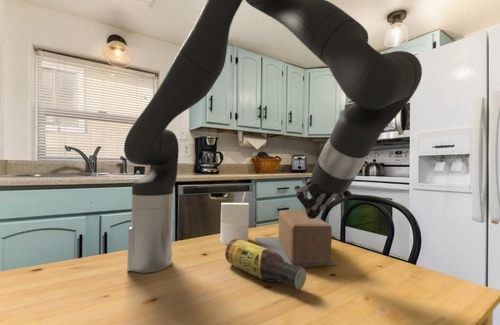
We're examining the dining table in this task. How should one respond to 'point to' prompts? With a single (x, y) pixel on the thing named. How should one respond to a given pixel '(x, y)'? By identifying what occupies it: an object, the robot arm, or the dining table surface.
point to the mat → (280, 249)
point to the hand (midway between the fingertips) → (310, 215)
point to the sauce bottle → (264, 263)
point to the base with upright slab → (234, 221)
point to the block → (305, 238)
